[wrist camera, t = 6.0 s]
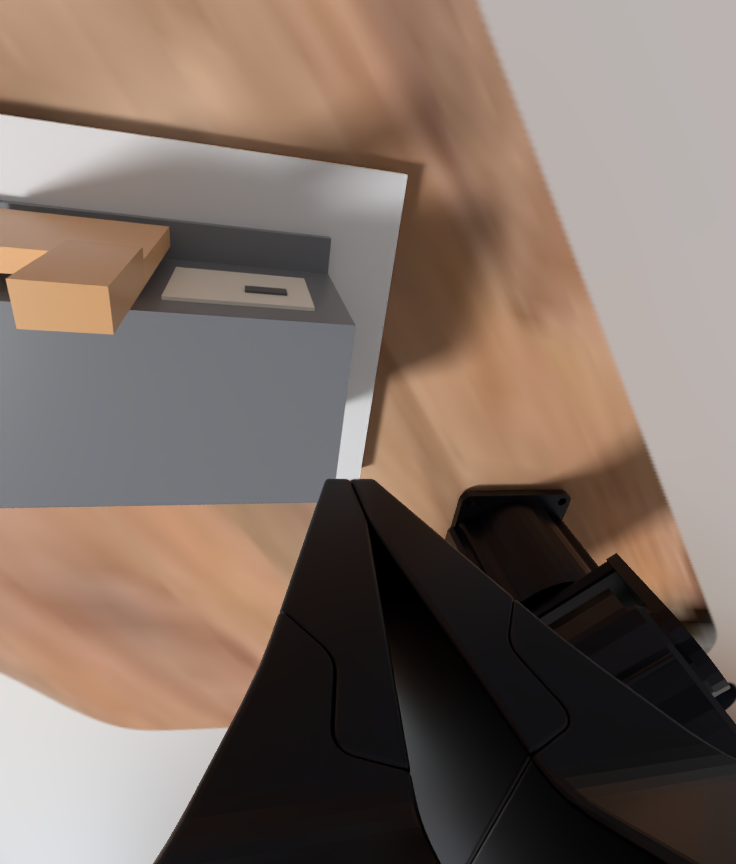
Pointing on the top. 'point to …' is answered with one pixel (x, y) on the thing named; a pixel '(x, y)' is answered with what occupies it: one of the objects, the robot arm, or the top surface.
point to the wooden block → (76, 269)
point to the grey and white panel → (199, 325)
